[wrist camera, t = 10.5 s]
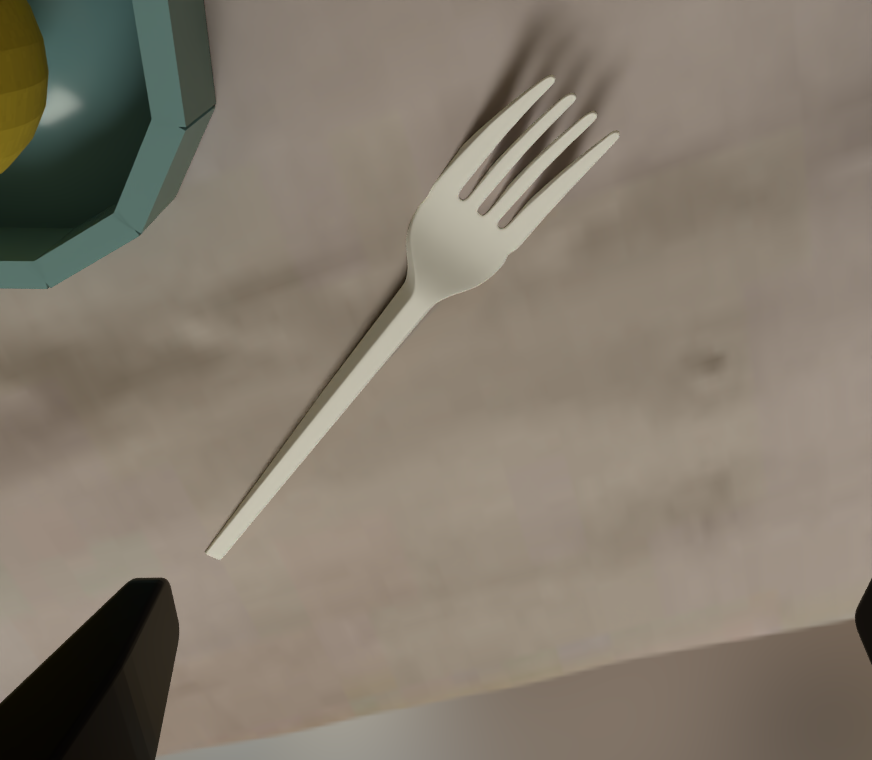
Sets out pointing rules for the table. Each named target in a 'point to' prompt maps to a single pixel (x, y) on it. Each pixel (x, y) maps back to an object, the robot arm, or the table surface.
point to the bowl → (104, 133)
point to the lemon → (20, 78)
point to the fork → (438, 268)
